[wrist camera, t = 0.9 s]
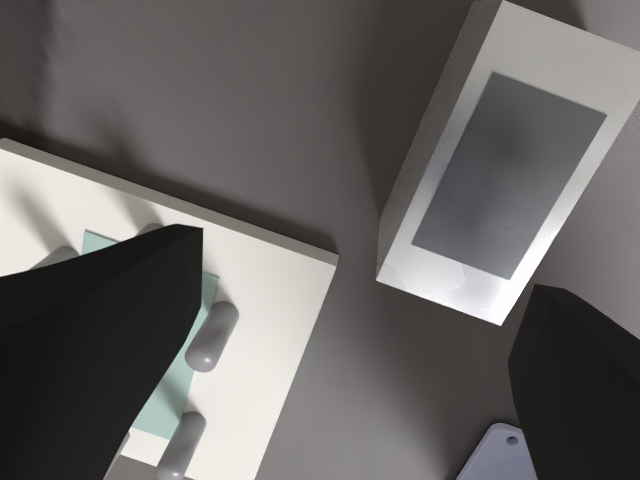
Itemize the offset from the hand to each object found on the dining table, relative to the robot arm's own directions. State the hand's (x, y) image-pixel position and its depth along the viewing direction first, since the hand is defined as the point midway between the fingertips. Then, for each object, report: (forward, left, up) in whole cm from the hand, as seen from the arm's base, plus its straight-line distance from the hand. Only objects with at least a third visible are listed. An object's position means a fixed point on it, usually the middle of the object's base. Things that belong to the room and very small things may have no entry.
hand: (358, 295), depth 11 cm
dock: (+7, +11, -9) cm, 15 cm away
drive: (-3, -2, -9) cm, 10 cm away
